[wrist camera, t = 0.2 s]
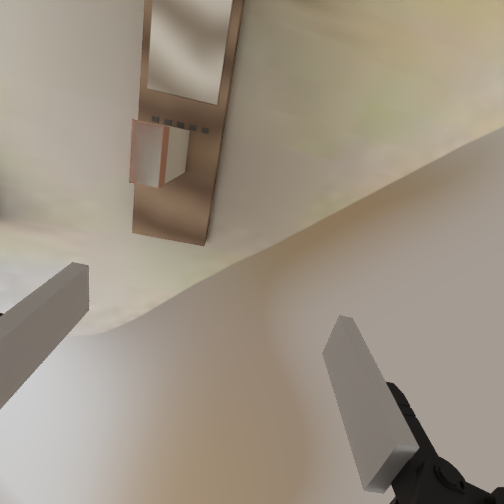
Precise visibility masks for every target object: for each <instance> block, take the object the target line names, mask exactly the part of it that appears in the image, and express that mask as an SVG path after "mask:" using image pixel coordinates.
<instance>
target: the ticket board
mask: <svg viewBox="0 0 504 504" xmlns="http://www.w3.org/2000/svg"><path fill="white" fill-rule="evenodd" d="M243 6H244V0H145V4H144V22H143V41H142V60H141V78H140V97H139V115H138V120H140V121H145V122H149V123H154V124H160V125H166V126H171V127H176V128H180V129H185V130H189V131H190V134H189V142H188V151H187V159H186V168H185V173H183V174H181V175H180V176H178V177H176V178H174V179H172V180H171V181H169V182H167V183H165V184H164V185H163V186H162V187H160V188H154V187H149V186H144V185H139V184H135V190H134V209H133V227H132V233H136V234H141V235H146V236H152V237H157V238H162V239H168V240H173V241H179V242H184V243H189V244H195V245H200V246H204V245H205V242H206V238H207V232H208V226H209V219H210V213H211V207H212V200H213V194H214V188H215V182H216V175H217V169H218V163H219V156H220V150H221V144H222V138H223V131H224V125H225V119H226V112H227V106H228V100H229V94H230V87H231V81H232V75H233V68H234V62H235V56H236V50H237V43H238V37H239V31H240V24H241V18H242V12H243Z"/></svg>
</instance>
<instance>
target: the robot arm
mask: <svg viewBox="0 0 504 504" xmlns="http://www.w3.org/2000/svg"><path fill="white" fill-rule="evenodd" d="M88 311H89V265H84V264H79V263H74V262H72V263H71V264H70V265H68V266H67V267H66V268H64V269H63V270H62V271H60V272H59V273H58V274H56V275H55V276H54V277H52V278H51V279H50V280H48V281H47V282H46V283H44V284H43V285H42V286H40V287H39V288H38V289H36V290H35V291H34V292H32V293H31V294H30V295H28V296H27V297H26V298H24V299H23V300H22V301H20V302H19V303H18V304H16V305H15V306H14V307H12V308H11V309H10V310H9V311H7V312H6V313H5V314H2V313H0V409H1V408H2V407H3V406H4V405H5V404H6V402H7V401H8V400H9V399H10V398H11V397H12V396H13V395H14V393H15V392H16V391H17V390H18V389H19V388H20V387H21V386H22V384H23V383H24V382H25V381H26V380H27V379H28V378H29V377H30V375H31V374H32V373H33V372H34V371H35V370H36V369H37V368H38V366H39V365H40V364H41V363H42V362H43V361H44V360H45V359H46V358H47V357H48V355H49V354H50V353H51V352H52V351H53V350H54V349H55V348H56V346H57V345H58V344H59V343H60V342H61V341H62V340H63V339H64V338H65V336H66V335H67V334H68V333H69V332H70V331H71V330H72V329H73V327H74V326H75V325H76V324H77V323H78V322H79V321H80V320H81V319H82V317H83V316H84V315H85V314H86V313H87V312H88ZM323 357H324V360H325V363H326V367H327V370H328V374H329V377H330V380H331V383H332V387H333V390H334V393H335V397H336V400H337V403H338V406H339V409H340V413H341V416H342V420H343V423H344V426H345V430H346V433H347V436H348V440H349V442H350V446H351V450H352V453H353V456H354V459H355V463H356V466H357V469H358V473H359V476H360V479H361V483H362V486H363V489H364V491H369V492H377V493H385V491H386V490H387V489H388V488H389V486H390V485H392V487H393V490H394V492H395V495H396V496H395V498H394V499H393V500H392V501H391V502H390V504H504V487H498V488H496V489H495V490H494V491H493V492H492V493H491V494H490V493H488V492H486V491H484V490H481V489H480V488H478V487H476V486H474V485H471V484H469V483H467V482H466V481H465V479H464V478H463V476H462V475H461V474H460V472H459V471H458V470H457V469H456V468H455V467H454V466H453V465H452V464H450V463H449V462H448V461H446V460H445V459H443V458H441V457H439V456H438V455H437V453H436V451H435V449H434V447H433V446H432V444H431V442H430V440H429V439H428V437H427V435H426V433H425V432H424V430H423V428H422V426H421V424H420V423H419V421H418V419H417V418H416V417H415V414H414V412H413V410H412V408H410V405H409V403H408V401H407V399H406V398H405V396H404V394H403V393H402V392H401V391H400V390H399V389H398V387H397V386H396V385H395V384H394V383H390V382H385V380H384V378H383V376H382V374H381V372H380V370H379V368H378V366H377V364H376V363H375V360H374V359H373V356H372V355H371V353H370V351H369V349H368V347H367V345H366V343H365V341H364V339H363V337H362V335H361V333H360V331H359V329H358V327H357V325H356V324H355V322H354V320H353V318H350V317H344V316H339V317H338V319H337V322H336V324H335V326H334V328H333V331H332V333H331V335H330V337H329V340H328V342H327V345H326V346H325V349H324V351H323Z"/></svg>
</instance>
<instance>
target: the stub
mask: <svg viewBox="0 0 504 504" xmlns="http://www.w3.org/2000/svg"><path fill="white" fill-rule="evenodd" d="M189 134H190V131H189V130H185V129H180V128H176V127H171V126H166V125H160V124H154V123H149V122H145V121H140V120H134V119H132V135H131V157H130V178H129V183H134V184H139V185H144V186H149V187H154V188H160V187H162V186H163V185H164V184H165V183H167V182H169V181H171V180H172V179H174V178H176V177H178V176H180V175H181V174H183V173H185V168H186V159H187V151H188V142H189Z"/></svg>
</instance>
